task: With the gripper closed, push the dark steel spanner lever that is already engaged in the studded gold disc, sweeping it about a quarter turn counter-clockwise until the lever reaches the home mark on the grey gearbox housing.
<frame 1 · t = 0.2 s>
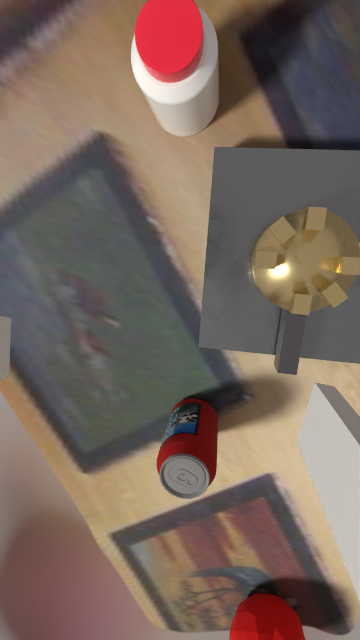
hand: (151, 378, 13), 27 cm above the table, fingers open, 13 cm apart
beverage can: (194, 415, 44), on the table
housing: (289, 259, 37), on the table
pill bottle: (185, 99, 35), on the table
studded gold disc: (297, 296, 31), point 6 cm above the table, hinge at 0.0°
tomato: (263, 603, 50), on the table
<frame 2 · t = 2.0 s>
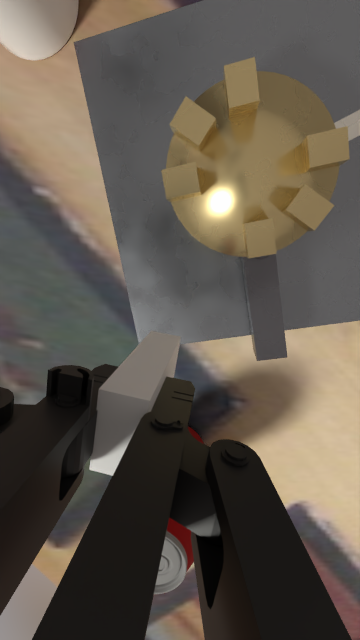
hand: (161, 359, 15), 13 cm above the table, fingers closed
beverage can: (174, 444, 31), on the table
housing: (241, 192, 25), on the table
pill bottle: (33, 5, 24), on the table
studded gold disc: (255, 231, 19), point 6 cm above the table, hinge at 0.0°
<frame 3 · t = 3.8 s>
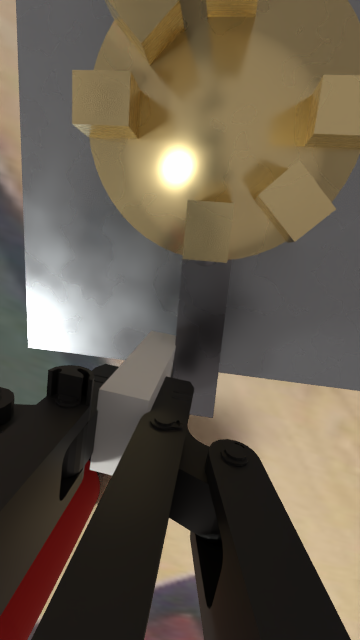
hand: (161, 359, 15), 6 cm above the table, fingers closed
beverage can: (65, 471, 25), on the table
housing: (221, 170, 18), on the table
studded gold disc: (211, 222, 12), point 6 cm above the table, hinge at 0.0°, touching gripper
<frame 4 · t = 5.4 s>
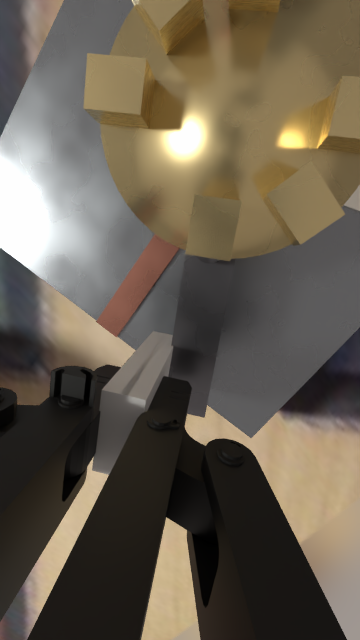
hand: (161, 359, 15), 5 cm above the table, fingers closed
housing: (232, 169, 18), on the table
studded gold disc: (217, 219, 12), point 6 cm above the table, hinge at 27.5°, touching gripper
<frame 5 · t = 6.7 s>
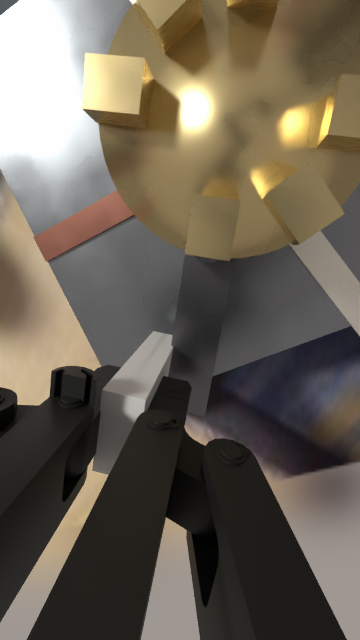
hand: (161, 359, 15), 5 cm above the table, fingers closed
housing: (231, 168, 18), on the table
studded gold disc: (216, 219, 12), point 6 cm above the table, hinge at 56.5°, touching gripper
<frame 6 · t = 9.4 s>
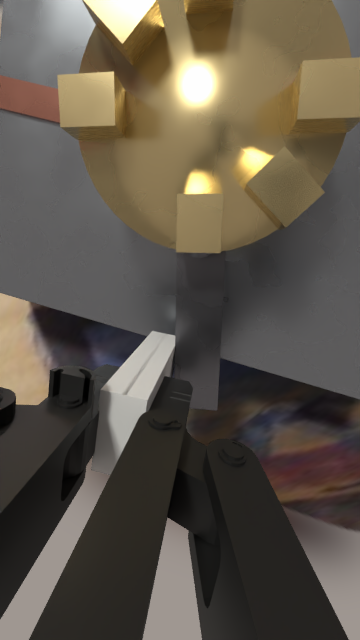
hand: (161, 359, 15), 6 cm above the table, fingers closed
housing: (212, 167, 18), on the table
studded gold disc: (203, 215, 13), point 6 cm above the table, hinge at 103.5°, touching gripper
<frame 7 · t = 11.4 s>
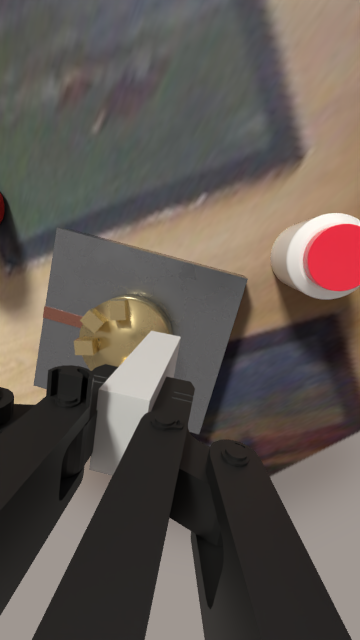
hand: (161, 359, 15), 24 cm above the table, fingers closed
housing: (139, 328, 40), on the table
pill bottle: (303, 256, 36), on the table
studded gold disc: (128, 372, 34), point 6 cm above the table, hinge at 106.1°
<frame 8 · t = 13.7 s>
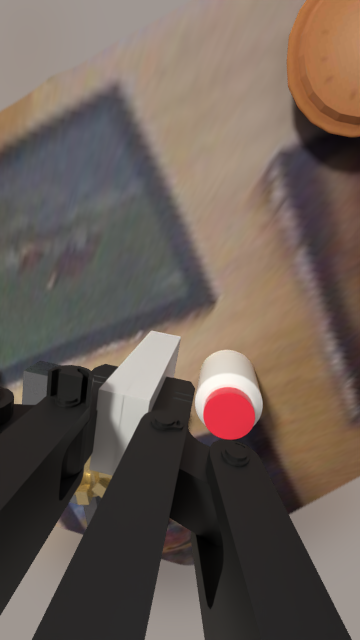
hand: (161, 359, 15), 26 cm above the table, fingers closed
housing: (101, 434, 48), on the table
pill bottle: (227, 375, 43), on the table
studded gold disc: (88, 483, 42), point 6 cm above the table, hinge at 106.1°
pie: (352, 72, 33), on the table
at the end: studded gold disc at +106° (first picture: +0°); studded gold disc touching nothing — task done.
